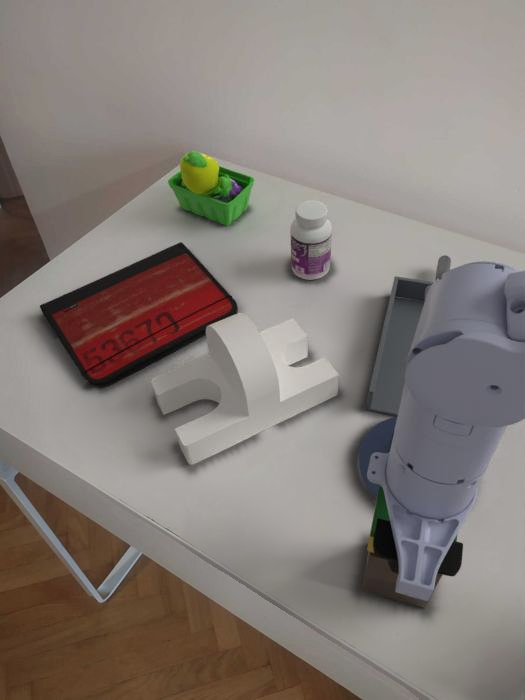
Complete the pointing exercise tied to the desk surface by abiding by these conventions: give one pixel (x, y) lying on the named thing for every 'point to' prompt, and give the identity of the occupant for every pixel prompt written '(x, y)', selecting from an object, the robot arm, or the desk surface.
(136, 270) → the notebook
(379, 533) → the robot arm
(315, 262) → the pill bottle
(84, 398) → the desk surface
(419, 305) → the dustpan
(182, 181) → the fruit basket
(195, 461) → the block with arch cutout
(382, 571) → the brown wooden block
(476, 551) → the desk surface
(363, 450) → the plate
